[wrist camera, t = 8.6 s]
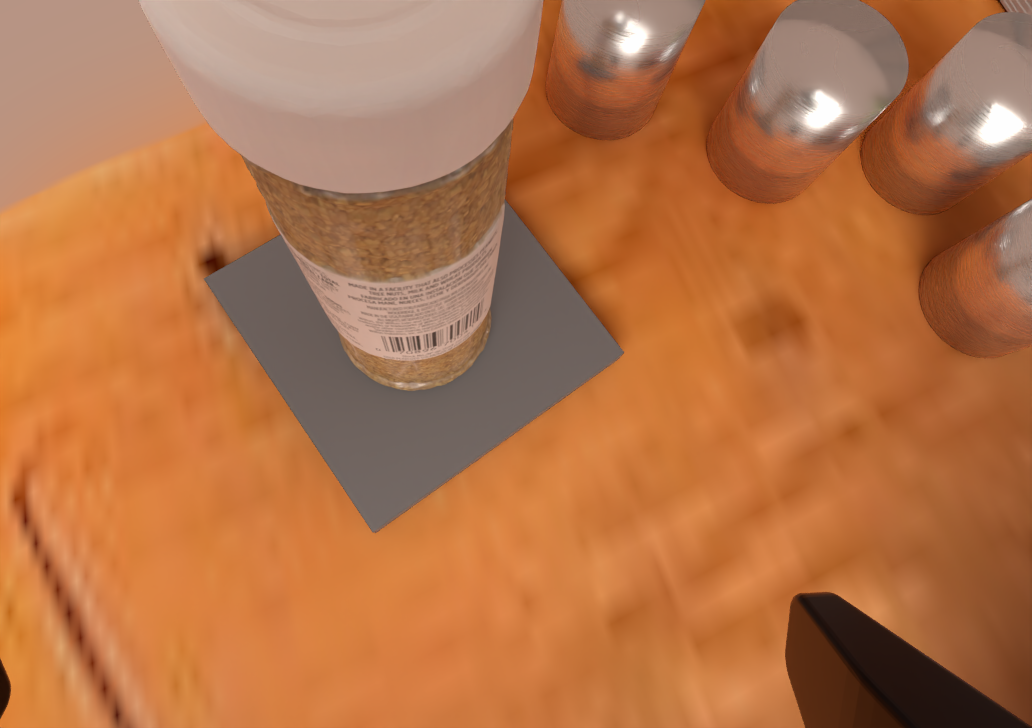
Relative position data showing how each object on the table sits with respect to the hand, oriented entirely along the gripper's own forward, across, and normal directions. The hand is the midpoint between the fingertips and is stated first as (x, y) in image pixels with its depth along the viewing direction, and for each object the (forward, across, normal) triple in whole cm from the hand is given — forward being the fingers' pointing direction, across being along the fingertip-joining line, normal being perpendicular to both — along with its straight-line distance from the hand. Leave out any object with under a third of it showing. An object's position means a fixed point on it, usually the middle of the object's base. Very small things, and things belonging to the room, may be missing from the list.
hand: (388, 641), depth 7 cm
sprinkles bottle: (+13, +2, 0) cm, 14 cm away
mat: (+14, +2, +1) cm, 14 cm away
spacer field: (+18, -12, -3) cm, 22 cm away
